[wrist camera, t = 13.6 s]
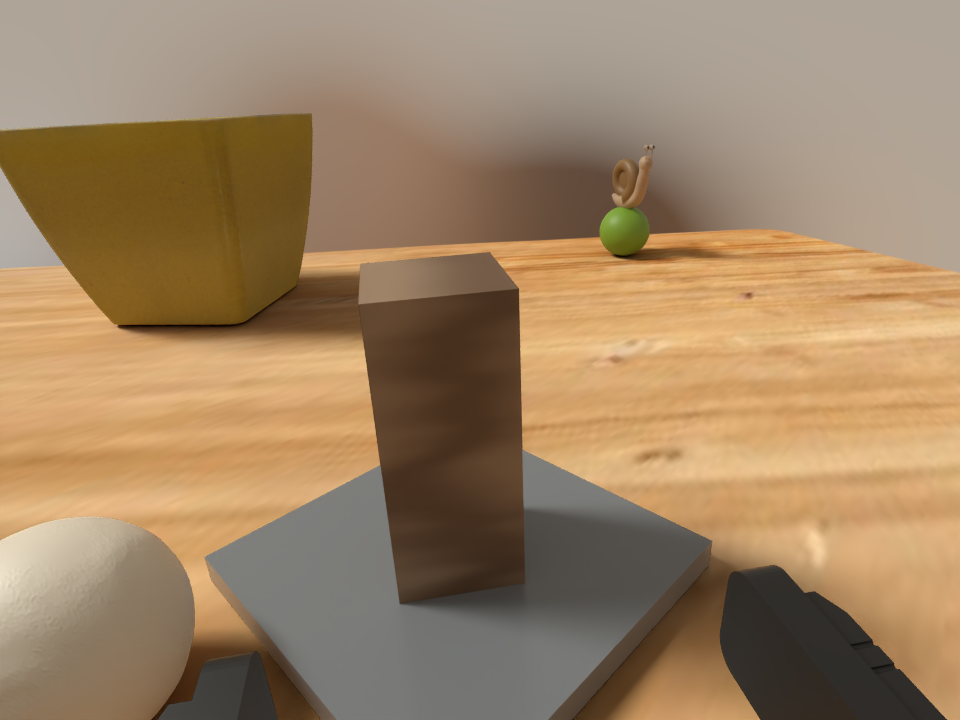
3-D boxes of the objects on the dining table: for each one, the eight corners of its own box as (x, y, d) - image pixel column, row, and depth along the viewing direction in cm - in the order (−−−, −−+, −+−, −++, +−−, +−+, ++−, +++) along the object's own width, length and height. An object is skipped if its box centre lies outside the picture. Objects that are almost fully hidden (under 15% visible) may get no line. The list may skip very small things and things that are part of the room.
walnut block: (399, 604, 21) (358, 304, 16) (394, 521, 25) (360, 263, 20) (525, 583, 21) (518, 288, 17) (500, 505, 25) (489, 252, 21)
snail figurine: (621, 265, 63) (628, 146, 59) (589, 253, 69) (593, 143, 64) (663, 258, 65) (673, 142, 60) (629, 247, 71) (635, 140, 66)
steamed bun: (14, 653, 21) (-65, 499, 18) (230, 610, 22) (186, 461, 20) (-115, 874, 15) (-261, 693, 12) (191, 798, 16) (119, 620, 14)
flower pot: (179, 277, 68) (137, 119, 61) (339, 275, 65) (315, 110, 58) (50, 341, 50) (-28, 130, 44) (261, 341, 48) (214, 118, 41)
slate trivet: (211, 580, 24) (204, 557, 23) (465, 440, 33) (463, 421, 32) (439, 870, 15) (435, 841, 14) (709, 565, 23) (712, 541, 23)
